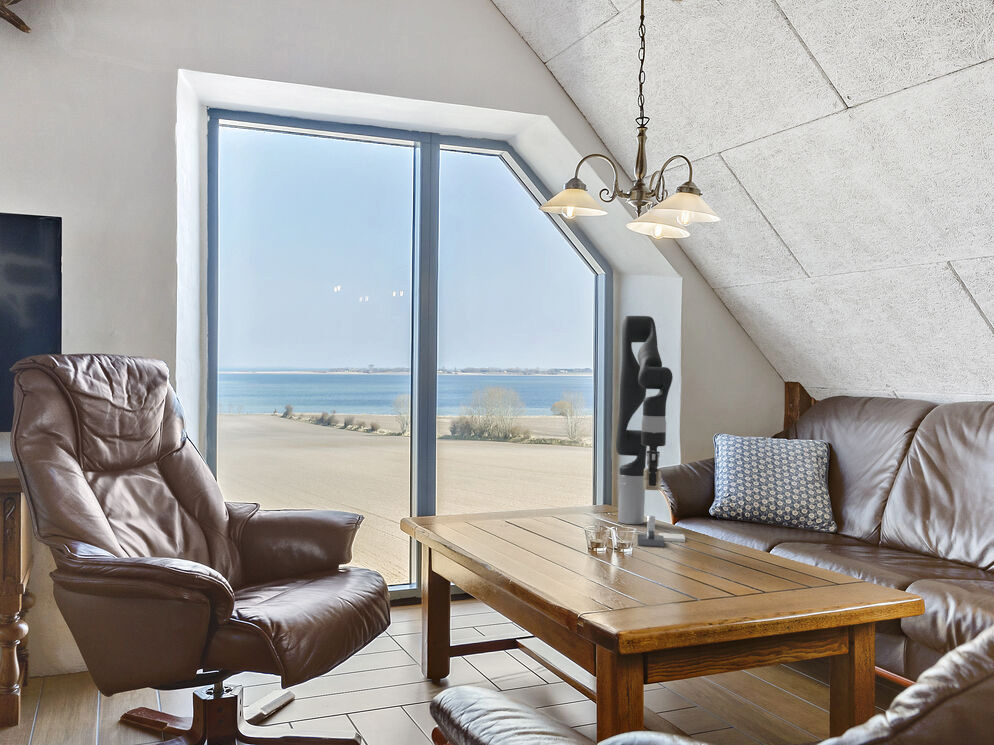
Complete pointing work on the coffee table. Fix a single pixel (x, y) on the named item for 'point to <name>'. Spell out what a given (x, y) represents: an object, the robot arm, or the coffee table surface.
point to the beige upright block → (646, 480)
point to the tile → (673, 537)
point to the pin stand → (650, 535)
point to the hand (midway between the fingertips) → (652, 484)
